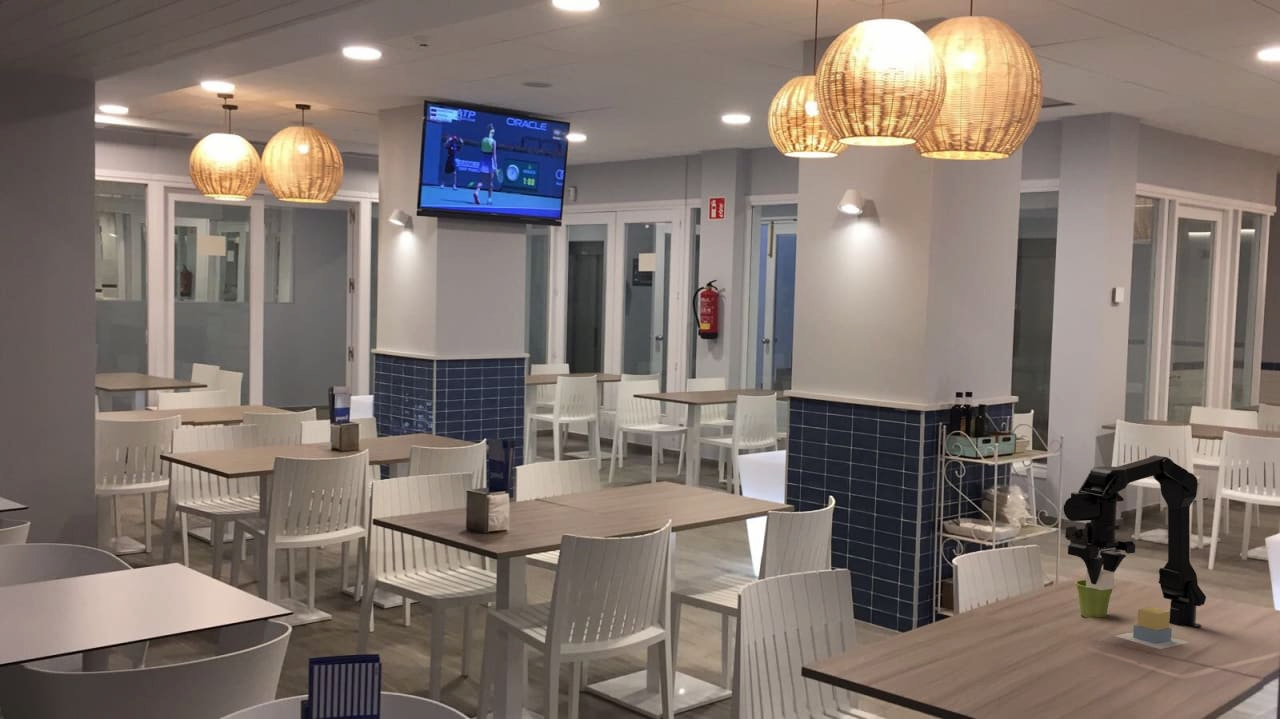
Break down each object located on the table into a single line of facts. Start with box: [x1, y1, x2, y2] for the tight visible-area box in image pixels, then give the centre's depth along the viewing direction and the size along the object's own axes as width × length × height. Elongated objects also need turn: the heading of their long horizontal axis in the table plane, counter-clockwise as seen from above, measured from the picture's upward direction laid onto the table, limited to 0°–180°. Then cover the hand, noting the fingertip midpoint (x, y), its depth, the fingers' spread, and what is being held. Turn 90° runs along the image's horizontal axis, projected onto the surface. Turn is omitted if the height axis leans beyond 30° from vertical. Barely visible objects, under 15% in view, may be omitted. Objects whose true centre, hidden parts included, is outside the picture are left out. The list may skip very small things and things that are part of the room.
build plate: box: [1115, 631, 1191, 650], centre depth 274 cm, size 12×12×1 cm
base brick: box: [1132, 624, 1173, 644], centre depth 274 cm, size 6×6×3 cm
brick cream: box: [1085, 568, 1115, 590], centre depth 278 cm, size 4×4×4 cm
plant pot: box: [1075, 579, 1113, 619], centre depth 296 cm, size 9×9×9 cm
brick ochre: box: [1136, 606, 1170, 631], centre depth 273 cm, size 5×5×4 cm
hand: (1100, 583), depth 278 cm, fingers closed on brick cream, 4 cm apart
